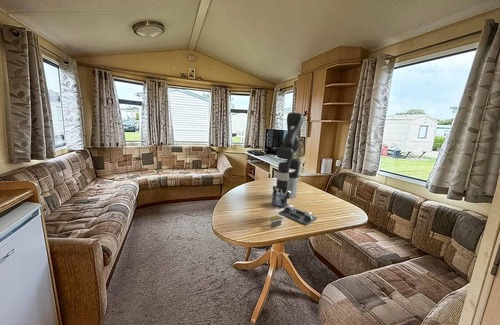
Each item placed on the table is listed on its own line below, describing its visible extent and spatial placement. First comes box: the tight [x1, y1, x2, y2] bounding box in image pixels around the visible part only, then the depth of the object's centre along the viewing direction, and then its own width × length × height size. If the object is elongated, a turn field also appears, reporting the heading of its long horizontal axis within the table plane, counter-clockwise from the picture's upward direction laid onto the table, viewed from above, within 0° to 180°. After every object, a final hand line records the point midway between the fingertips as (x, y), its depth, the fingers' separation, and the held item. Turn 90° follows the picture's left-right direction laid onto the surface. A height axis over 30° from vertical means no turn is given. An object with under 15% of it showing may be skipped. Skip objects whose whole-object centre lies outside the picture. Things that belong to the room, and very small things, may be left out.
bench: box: [278, 203, 318, 226], centre depth 146 cm, size 21×14×6 cm, turn 45°
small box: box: [271, 192, 288, 209], centre depth 163 cm, size 11×6×10 cm, turn 65°
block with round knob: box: [275, 193, 284, 206], centre depth 142 cm, size 7×4×7 cm, turn 135°
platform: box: [268, 214, 284, 228], centre depth 131 cm, size 12×18×7 cm, turn 122°
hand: (280, 202), depth 143 cm, fingers closed on block with round knob, 4 cm apart
